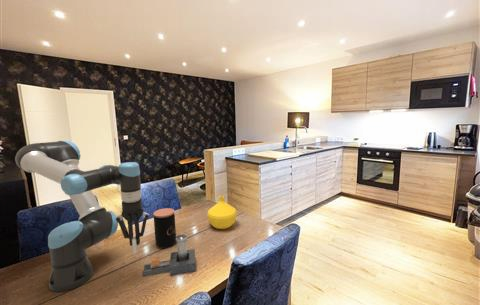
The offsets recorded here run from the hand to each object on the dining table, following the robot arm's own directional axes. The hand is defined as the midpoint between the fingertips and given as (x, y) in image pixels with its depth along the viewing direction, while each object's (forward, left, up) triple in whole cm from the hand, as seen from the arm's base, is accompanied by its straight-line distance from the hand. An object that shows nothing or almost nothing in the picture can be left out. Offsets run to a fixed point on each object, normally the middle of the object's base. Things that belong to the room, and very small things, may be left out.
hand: (135, 251), depth 97 cm
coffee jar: (+11, +22, -10) cm, 26 cm away
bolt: (+11, 0, -10) cm, 15 cm away
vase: (+44, +34, -10) cm, 56 cm away
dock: (+14, 0, -10) cm, 17 cm away
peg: (+19, 0, -10) cm, 22 cm away
